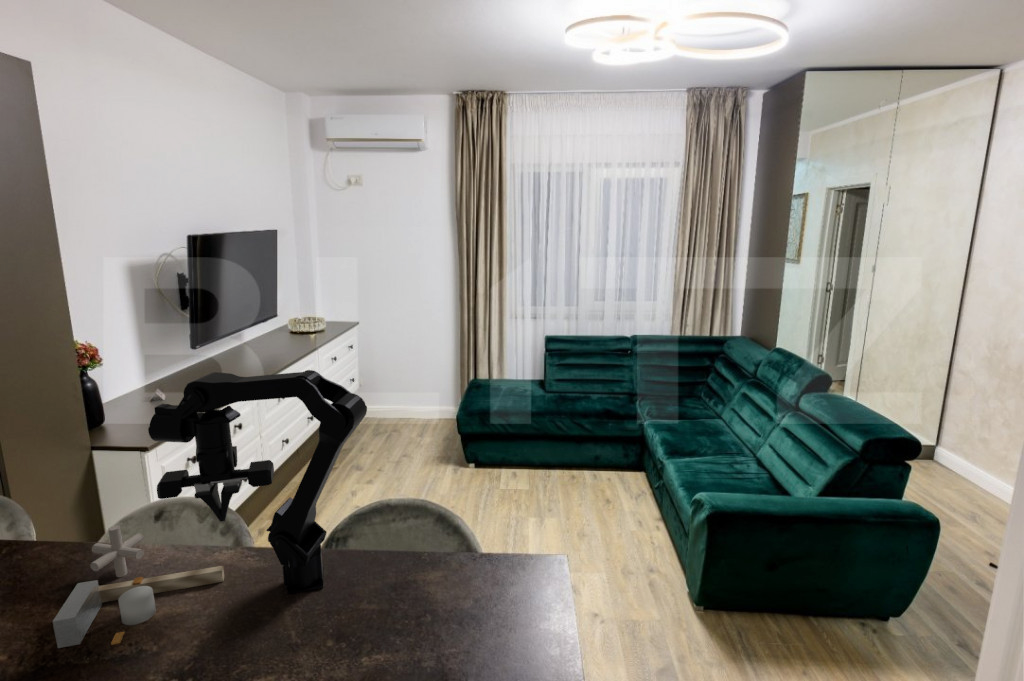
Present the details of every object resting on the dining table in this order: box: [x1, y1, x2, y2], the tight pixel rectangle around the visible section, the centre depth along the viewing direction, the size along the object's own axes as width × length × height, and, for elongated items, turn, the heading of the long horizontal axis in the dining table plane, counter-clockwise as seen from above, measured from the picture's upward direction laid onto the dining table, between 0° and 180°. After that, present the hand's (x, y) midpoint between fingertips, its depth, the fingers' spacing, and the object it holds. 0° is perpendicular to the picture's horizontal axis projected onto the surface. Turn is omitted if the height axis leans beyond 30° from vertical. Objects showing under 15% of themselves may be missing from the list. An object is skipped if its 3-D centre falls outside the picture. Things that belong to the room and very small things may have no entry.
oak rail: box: [99, 565, 225, 603], centre depth 105 cm, size 22×2×3 cm, turn 108°
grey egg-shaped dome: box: [117, 586, 157, 626], centre depth 99 cm, size 5×5×4 cm
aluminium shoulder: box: [52, 579, 103, 649], centre depth 96 cm, size 3×10×5 cm, turn 18°
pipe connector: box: [89, 524, 145, 578], centre depth 109 cm, size 10×10×10 cm
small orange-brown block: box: [110, 631, 125, 646], centre depth 94 cm, size 1×2×1 cm, turn 18°
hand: (223, 520), depth 107 cm, fingers closed
